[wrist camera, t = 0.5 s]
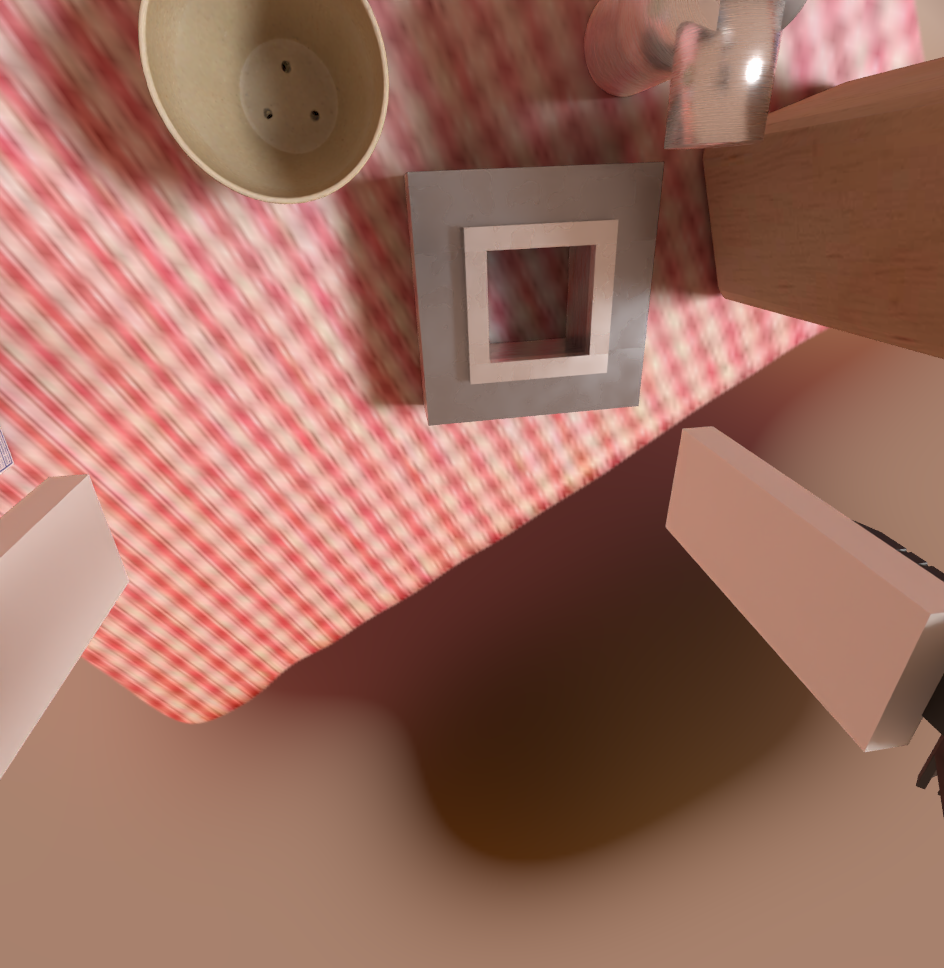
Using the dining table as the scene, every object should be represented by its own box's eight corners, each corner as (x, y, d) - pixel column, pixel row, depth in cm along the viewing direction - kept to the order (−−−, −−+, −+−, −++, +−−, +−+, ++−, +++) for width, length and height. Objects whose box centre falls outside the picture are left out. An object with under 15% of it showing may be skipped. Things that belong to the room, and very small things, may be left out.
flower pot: (361, 229, 33) (357, 236, 26) (180, 164, 30) (127, 153, 24) (408, 32, 29) (416, -16, 22) (205, -65, 26) (150, -151, 20)
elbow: (586, -17, 29) (714, -151, 18) (675, -17, 29) (852, -147, 19) (578, 162, 33) (680, 142, 22) (657, 159, 33) (795, 138, 22)
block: (713, 301, 38) (1002, 387, 20) (693, 142, 33) (1048, 74, 16) (849, 247, 38) (1261, 287, 20) (849, 78, 33) (1389, -63, 15)
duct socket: (404, 175, 32) (408, 171, 27) (634, 166, 33) (671, 160, 29) (423, 404, 38) (429, 430, 34) (615, 387, 40) (643, 409, 36)
